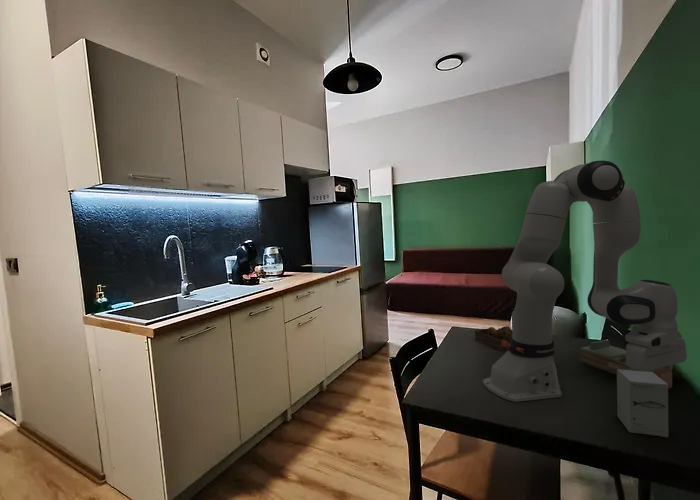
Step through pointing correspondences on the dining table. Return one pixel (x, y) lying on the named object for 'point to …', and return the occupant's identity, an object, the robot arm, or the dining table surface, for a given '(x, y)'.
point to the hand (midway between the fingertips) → (657, 380)
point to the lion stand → (490, 340)
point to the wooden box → (605, 361)
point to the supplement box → (642, 402)
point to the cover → (604, 349)
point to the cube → (664, 375)
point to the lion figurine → (500, 332)
